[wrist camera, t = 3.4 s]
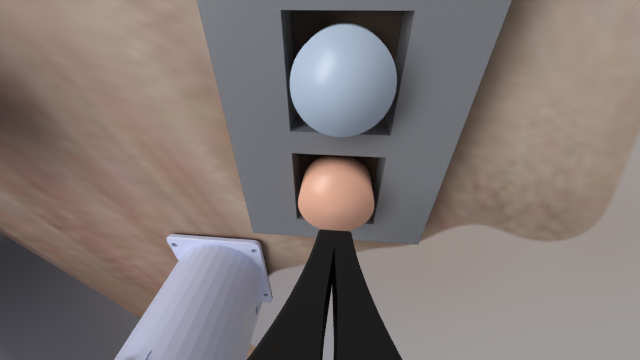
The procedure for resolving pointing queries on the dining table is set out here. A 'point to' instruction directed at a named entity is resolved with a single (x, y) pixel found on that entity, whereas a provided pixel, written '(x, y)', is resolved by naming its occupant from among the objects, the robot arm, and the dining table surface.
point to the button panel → (380, 141)
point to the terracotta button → (336, 193)
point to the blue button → (343, 80)
